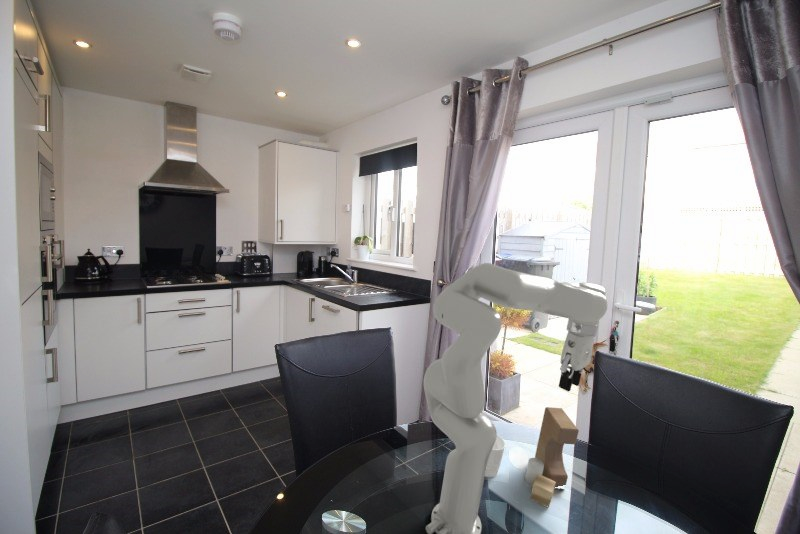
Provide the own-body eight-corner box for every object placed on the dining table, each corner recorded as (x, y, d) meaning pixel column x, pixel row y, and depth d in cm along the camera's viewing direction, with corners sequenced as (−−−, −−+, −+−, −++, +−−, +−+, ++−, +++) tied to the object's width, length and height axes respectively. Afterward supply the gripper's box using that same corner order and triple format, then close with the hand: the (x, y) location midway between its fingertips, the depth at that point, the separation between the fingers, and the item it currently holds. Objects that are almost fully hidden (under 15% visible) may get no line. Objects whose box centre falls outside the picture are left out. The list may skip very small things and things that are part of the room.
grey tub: (535, 488, 114) (539, 470, 112) (522, 479, 117) (525, 461, 116) (543, 481, 117) (546, 464, 115) (529, 472, 120) (533, 455, 119)
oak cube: (548, 508, 107) (552, 492, 106) (530, 498, 110) (533, 483, 109) (552, 496, 111) (555, 481, 110) (534, 488, 114) (537, 473, 113)
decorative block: (565, 490, 114) (579, 430, 110) (546, 489, 114) (560, 428, 110) (550, 463, 125) (563, 407, 121) (533, 462, 125) (544, 406, 120)
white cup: (468, 462, 121) (473, 434, 119) (489, 458, 124) (494, 430, 122) (483, 481, 114) (488, 451, 112) (505, 476, 117) (510, 447, 115)
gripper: (582, 338, 101) (568, 401, 104) (607, 326, 112) (593, 384, 116) (554, 327, 106) (542, 388, 110) (581, 318, 117) (569, 373, 121)
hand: (568, 385), depth 113 cm, fingers open, 4 cm apart
